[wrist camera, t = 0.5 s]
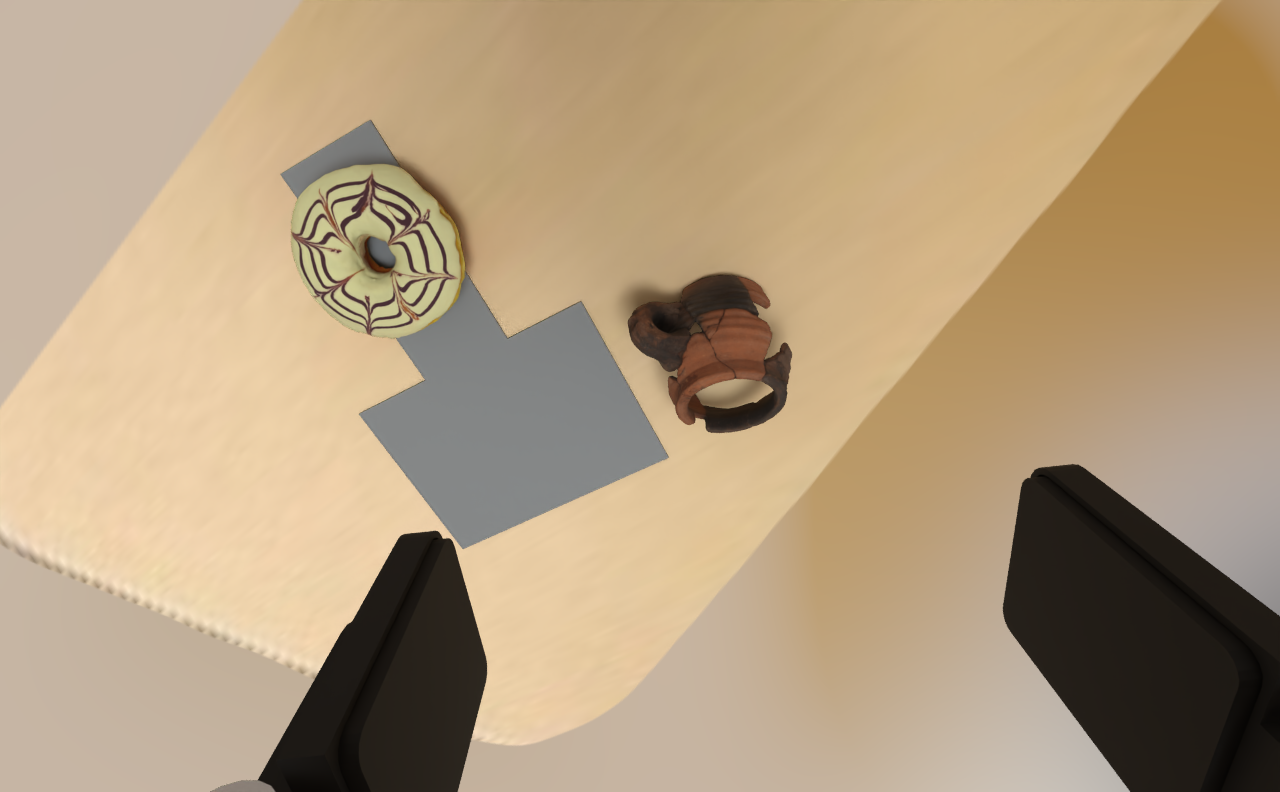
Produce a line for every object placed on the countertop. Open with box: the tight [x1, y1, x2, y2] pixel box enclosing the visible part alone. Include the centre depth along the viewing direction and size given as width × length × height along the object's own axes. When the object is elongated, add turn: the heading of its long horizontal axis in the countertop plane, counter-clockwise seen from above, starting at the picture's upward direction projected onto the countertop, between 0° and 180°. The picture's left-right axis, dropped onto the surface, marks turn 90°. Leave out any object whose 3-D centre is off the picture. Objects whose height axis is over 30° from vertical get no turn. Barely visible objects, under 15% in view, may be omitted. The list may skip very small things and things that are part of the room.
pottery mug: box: [628, 275, 792, 433], centre depth 43 cm, size 12×10×8 cm
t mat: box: [281, 120, 669, 549], centre depth 45 cm, size 30×19×1 cm, turn 27°
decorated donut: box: [291, 164, 465, 339], centre depth 40 cm, size 10×11×4 cm
